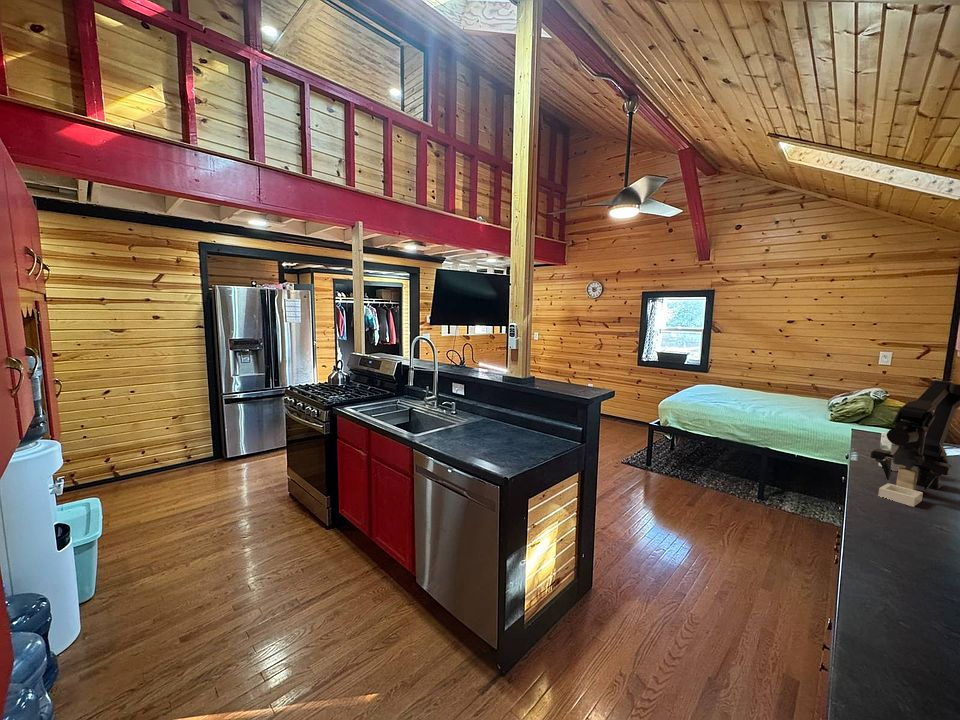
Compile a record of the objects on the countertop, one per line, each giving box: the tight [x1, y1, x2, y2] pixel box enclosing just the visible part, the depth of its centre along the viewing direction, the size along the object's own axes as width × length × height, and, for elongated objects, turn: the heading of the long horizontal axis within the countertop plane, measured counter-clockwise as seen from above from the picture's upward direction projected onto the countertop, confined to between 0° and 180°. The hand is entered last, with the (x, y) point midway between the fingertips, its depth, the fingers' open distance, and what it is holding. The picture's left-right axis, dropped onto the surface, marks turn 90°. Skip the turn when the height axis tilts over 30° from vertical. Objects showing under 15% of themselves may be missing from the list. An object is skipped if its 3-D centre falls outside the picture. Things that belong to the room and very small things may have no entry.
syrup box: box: [877, 431, 906, 472], centre depth 159 cm, size 6×6×14 cm
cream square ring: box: [877, 482, 924, 508], centre depth 133 cm, size 8×8×3 cm
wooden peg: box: [895, 466, 918, 491], centre depth 139 cm, size 4×4×9 cm
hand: (906, 484), depth 139 cm, fingers open, 9 cm apart
